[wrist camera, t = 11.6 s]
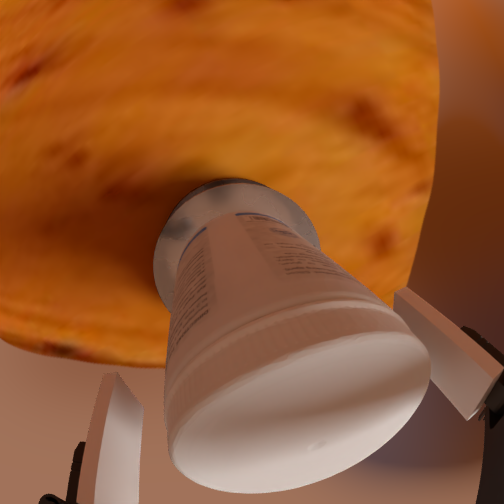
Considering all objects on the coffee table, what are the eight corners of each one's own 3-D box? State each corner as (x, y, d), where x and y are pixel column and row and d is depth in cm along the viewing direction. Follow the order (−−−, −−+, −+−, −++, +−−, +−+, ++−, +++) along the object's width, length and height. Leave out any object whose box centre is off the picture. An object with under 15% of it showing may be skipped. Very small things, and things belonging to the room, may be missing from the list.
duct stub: (139, 274, 24) (128, 300, 20) (208, 150, 22) (209, 148, 17) (253, 327, 28) (263, 358, 24) (325, 225, 26) (349, 240, 21)
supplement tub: (217, 340, 22) (245, 507, 9) (153, 247, 19) (86, 428, 5) (319, 287, 22) (429, 421, 9) (274, 183, 19) (440, 259, 5)
